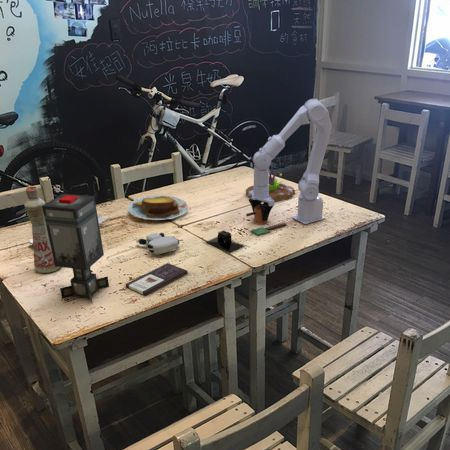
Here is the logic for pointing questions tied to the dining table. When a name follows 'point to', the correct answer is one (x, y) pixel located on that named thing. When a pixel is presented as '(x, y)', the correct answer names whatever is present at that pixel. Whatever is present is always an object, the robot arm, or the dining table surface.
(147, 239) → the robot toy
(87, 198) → the explosive device
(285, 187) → the plant
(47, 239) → the bottle
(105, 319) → the dining table surface
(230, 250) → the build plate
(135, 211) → the food on plate
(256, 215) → the pot
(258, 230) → the spatula
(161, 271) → the chocolate bar
